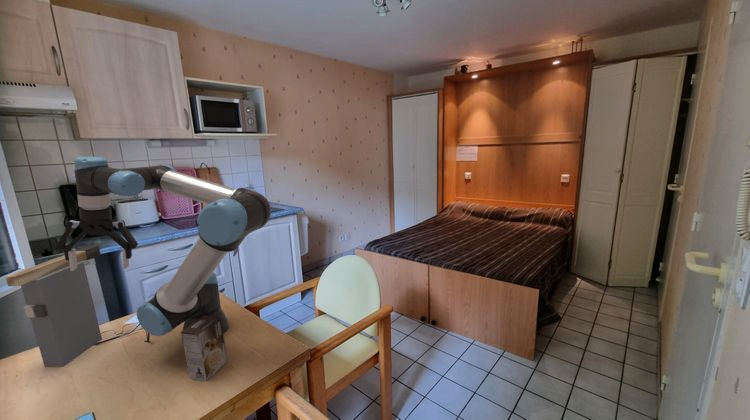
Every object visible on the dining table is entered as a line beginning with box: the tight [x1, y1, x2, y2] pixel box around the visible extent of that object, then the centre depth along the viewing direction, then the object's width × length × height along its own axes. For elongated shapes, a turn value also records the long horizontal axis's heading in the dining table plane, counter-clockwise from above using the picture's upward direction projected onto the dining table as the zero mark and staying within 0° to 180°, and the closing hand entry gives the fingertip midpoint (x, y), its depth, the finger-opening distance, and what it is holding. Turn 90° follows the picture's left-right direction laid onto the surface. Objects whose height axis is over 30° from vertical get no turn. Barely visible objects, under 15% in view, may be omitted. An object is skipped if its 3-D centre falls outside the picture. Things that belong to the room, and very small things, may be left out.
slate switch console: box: [20, 261, 103, 368], centre depth 100 cm, size 6×15×30 cm, turn 179°
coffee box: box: [180, 315, 228, 382], centre depth 93 cm, size 9×6×16 cm
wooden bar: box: [5, 244, 101, 287], centre depth 99 cm, size 3×26×3 cm, turn 179°
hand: (100, 268), depth 101 cm, fingers open, 13 cm apart
